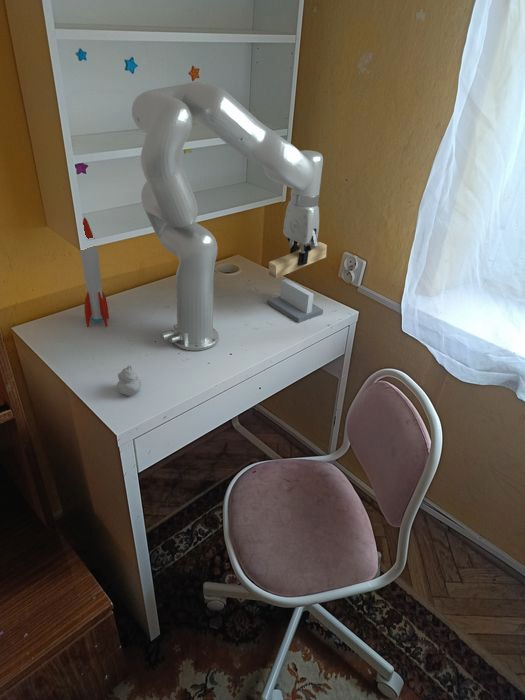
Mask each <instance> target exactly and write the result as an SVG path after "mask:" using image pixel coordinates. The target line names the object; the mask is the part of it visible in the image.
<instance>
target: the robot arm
mask: <svg viewBox="0 0 525 700" xmlns="http://www.w3.org/2000/svg"><path fill="white" fill-rule="evenodd" d="M131 117H132V120H133V122H134V124H135V126H136V127H137V128H139V130H140V131H142V132H143V133H145V134H146V135H145V138H144V140H143V145H142V148H141V153H140V164H141V169H142V172H143V174H144V177H145V180H146V182H145V183H144V184H143V186H142V189H141V195H140V199H141V204H142V207H143V210H144V212H145V214H146V216H147V218H148V221H149V223H150V225H151V227H152V229H153V230H154V233H155V235H156V237H157V239H158V241H159V243H160V244H161V245H162V246H163V247H164V248H165V249H166V250H167V251H169V253H171V254H173V255H174V256H175V257H176V258H178V260H179V261H178V267H177V269H176V274H175V297H176V298H175V301H176V302H175V303H176V324H175V323H174V324H173V329H171V330H170V331H166V332H162V333H160V338H161V340H162V341H163V342H165V341H167V340H170V343H172V344H174V345H175V346H176V347H178V348H180V349H183V350H185V351H186V350H187V351H193V352H194V351H204V350H208V349H210V348H212V347H214V346H216V344H217V343H218V341H219V336H220V335H219V331H217V329H215V328H214V278H215V277H214V273H215V265H216V260H217V256H218V250H219V249H218V242H217V240H216V237H215V236H214V235H213V234H212V232H211V231H209V230H208V229H207V228H206V227H205V226H202V224H199V223H197V222H196V220H197V217H198V213H199V208H198V207H199V206H198V203H197V199H196V197H195V194H194V191H193V189H192V187H191V184H190V182H189V178H188V177H187V174H186V171H185V169H184V166H183V161H182V152H183V149H184V146H185V144H186V141H188V138H189V136H190V134H191V131H192V128H193V124H195V125H199V126H202V127H204V128H205V129H207V130H208V131H210V132H211V133H212V134H213V135H214V136H216V137H217V138H219V139H220V140H221V141H222V142H224V143H225V144H227V145H228V146H229V147H230V148H232V150H233V151H235V152H236V153H237V154H239V155H240V156H242V157H244V158H245V159H247V160H249V161H251V162H253V163H256V164H258V165H260V166H263V171H264V173H265V174H264V175H266V177H267V178H269V179H270V180H272V181H273V182H276V183H278V184H279V185H280V184H281V185H283V186H286V187H288V188H290V189H291V190H290V192H289V193H290V201H288V203H287V207H286V211H285V215H284V221H283V230H282V232H283V235H284V236H285V237H286V239H287V241H288V247H289V248H290V251H289V254H290V253H293V252H296V251H298V250H300V249H301V252H299V261H298V265H299V266H301V265H305V264H307V261H308V253H309V252H310V251H311V250H312V249H314V248H318V238H319V231H320V207H319V198H320V189H321V182H322V173H323V166H324V157H323V154H322V153H321V152H318V151H315V150H308V149H307V150H306V149H305V150H299V149H298V148H297V147H296V146H294V145H293V144H292V143H290V142H289V141H287V140H286V139H285V138H284V137H282V136H280V135H279V134H277V132H275V131H274V130H272V129H271V128H269V127H268V126H266V125H265V124H264V123H262V122H261V121H260V120H258V119H257V117H255V116H254V115H253V114H252V112H250V111H248V109H246V108H245V106H243V105H242V104H241V103H240V102H239V101H238V100H237V99H235V98H234V96H232V95H231V94H230V93H229V92H228V91H226V90H225V89H224V88H222V87H220V86H218V85H217V86H216V85H213V84H208V83H204V82H196V81H195V82H188V83H187V82H186V83H181V84H176V85H171V86H164V87H160V88H153V89H149V90H145V91H143V92H141V93H139V95H137V96H136V97H135V99H134V101H133V102H132V106H131ZM299 245H300V246H299Z"/></svg>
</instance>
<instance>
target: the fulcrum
mask: <svg viewBox="0 0 525 700" xmlns="http://www.w3.org/2000/svg"><path fill="white" fill-rule="evenodd" d="M267 304H268V305H269V306H270V307H273V308H274V309H276V310H277V311H278V312H281V313H282V314H283V315H285V316H287V317H288V318H290V319H292V320H293V321H295V322H296V323H298V324H299V323H301V322H302V323H303V322H304V321H307V320H311V319H312V318H317V317H319V316H321V315H323V313H324V309H322V308H321V307H319V306H317V305H316V304H314V293H313V292H311V291H309V290H307V289H305V288H304V287H303V286H300V285H299V284H297V283H295V282H293V281H291V280H289V278H288V279H287V278H285V279H282V280H281V289H280V295H279V296H276V297H273V298H269V299H268V303H267Z"/></svg>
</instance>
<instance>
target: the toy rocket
mask: <svg viewBox="0 0 525 700" xmlns="http://www.w3.org/2000/svg"><path fill="white" fill-rule="evenodd" d="M82 224H83V225H84V231H85V235H86V237H87V238H88V239H89V238H93V236H94V234H93V232H92V230H91V227H90V224H89V222H88V219H87V218H86V217H83V219H82ZM79 252H80V253H79V254H80V259H81V266H82V271H83V277H84V283H85V290H86V295H85V301H84V318H85V323H86V328H89V327H90V322H91V321H92V322H94V323H99V322H103V324H104V326H105V327H106V328H108V319H110V315H109V306H108V301H107V299H106V294H105V292H103V289H102V277H101V269H100V259H99V258H100V256H99V249H98V245H97V246H93V247H90V248H87V249H85V250H80V249H79Z"/></svg>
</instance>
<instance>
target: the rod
mask: <svg viewBox="0 0 525 700" xmlns="http://www.w3.org/2000/svg"><path fill="white" fill-rule="evenodd" d="M317 243H318V248H314V249H312V250H311V251H310V252H309V253H308V261H307V264H305V265H301V266H299V265H298V261H299V252H301V248H300V250H298V251H296V252H293V253H290V252H289V253H288V254H285V255H284V256H281V257H278V258H276V259H273V260H271V261H268V275H269V276H271V277H272V278H274V279H278V278H280V277H283V276H285V275H287V274H290V273H293V272H295V271H297V270H299V269H302V268H304V267H306V266H309V265H311V264H314V263H316V262H318V261H320V260H322V259H325V258H327V249H328V245H327V244H325V243H323V242H321V241H317Z"/></svg>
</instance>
